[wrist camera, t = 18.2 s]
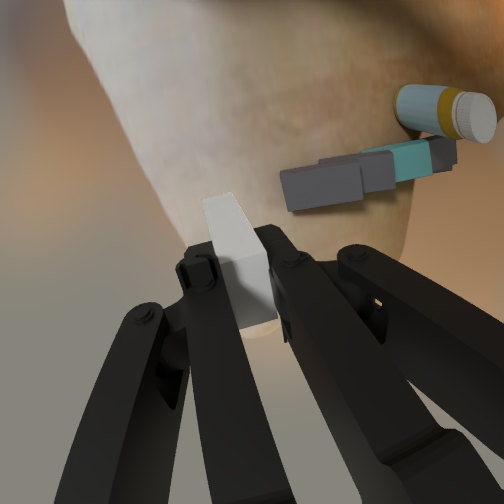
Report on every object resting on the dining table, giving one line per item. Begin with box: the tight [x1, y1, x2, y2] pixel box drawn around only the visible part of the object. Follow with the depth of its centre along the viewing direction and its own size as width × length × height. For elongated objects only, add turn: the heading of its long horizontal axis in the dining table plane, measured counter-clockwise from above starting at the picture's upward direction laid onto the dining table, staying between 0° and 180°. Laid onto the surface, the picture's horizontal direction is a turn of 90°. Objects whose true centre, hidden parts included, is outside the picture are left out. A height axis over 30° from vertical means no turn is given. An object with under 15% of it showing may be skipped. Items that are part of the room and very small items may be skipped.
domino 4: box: [418, 135, 457, 171], centre depth 41 cm, size 2×5×10 cm
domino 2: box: [319, 150, 396, 193], centre depth 39 cm, size 2×5×10 cm
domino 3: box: [360, 139, 433, 182], centre depth 40 cm, size 2×5×10 cm
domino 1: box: [280, 159, 364, 212], centre depth 39 cm, size 2×5×10 cm
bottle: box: [394, 84, 497, 144], centre depth 33 cm, size 7×7×15 cm
